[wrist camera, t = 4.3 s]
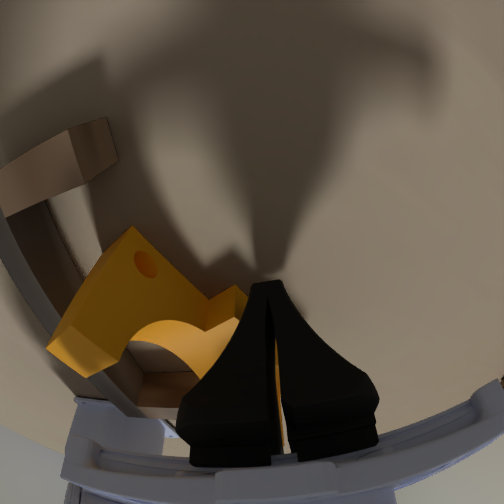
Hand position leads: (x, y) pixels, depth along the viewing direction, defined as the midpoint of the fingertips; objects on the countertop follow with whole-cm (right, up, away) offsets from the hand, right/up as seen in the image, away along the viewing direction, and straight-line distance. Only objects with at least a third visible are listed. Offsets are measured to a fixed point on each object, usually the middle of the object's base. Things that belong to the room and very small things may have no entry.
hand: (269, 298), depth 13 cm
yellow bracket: (-3, -1, +3) cm, 4 cm away
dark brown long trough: (-9, -1, +2) cm, 9 cm away
